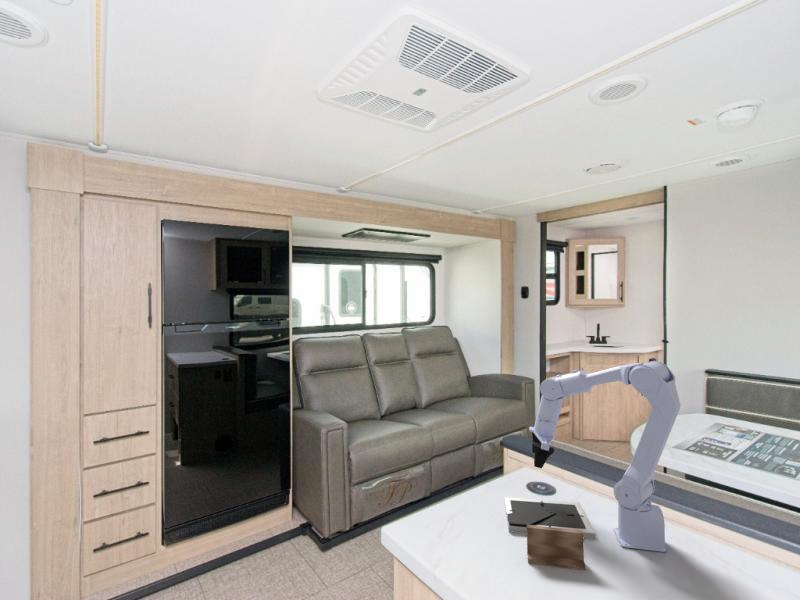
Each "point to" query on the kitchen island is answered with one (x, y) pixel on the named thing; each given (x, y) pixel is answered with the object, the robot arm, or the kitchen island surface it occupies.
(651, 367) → the robot arm
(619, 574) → the kitchen island surface
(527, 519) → the picture frame
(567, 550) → the walnut bookend
